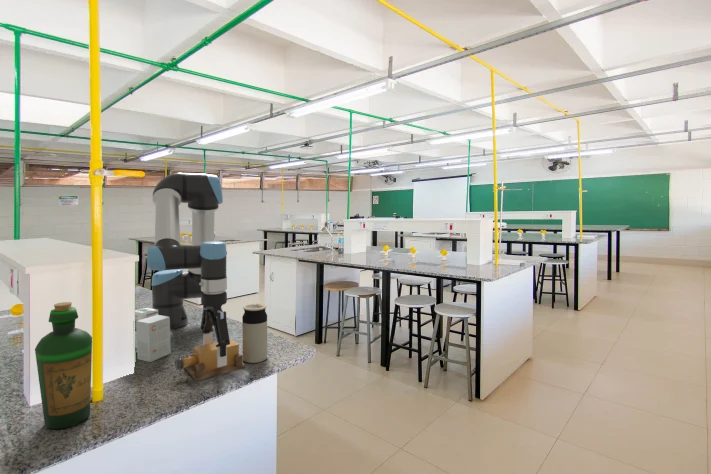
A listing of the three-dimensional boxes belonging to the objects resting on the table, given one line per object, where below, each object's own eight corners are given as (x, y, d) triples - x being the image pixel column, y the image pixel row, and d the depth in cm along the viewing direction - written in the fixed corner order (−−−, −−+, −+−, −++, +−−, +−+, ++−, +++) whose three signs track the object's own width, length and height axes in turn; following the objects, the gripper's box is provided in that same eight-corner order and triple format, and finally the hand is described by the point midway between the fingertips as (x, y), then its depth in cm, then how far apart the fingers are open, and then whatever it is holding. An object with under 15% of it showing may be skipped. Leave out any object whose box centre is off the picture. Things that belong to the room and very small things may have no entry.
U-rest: (195, 381, 109) (195, 367, 108) (184, 367, 117) (184, 354, 117) (244, 367, 118) (244, 354, 118) (231, 356, 127) (231, 344, 127)
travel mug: (258, 365, 120) (258, 310, 119) (237, 361, 123) (237, 307, 122) (271, 356, 128) (271, 304, 126) (252, 352, 130) (252, 302, 129)
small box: (157, 350, 131) (156, 314, 130) (171, 353, 128) (170, 316, 127) (136, 359, 123) (135, 320, 122) (150, 362, 121) (149, 323, 120)
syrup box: (133, 351, 129) (131, 310, 128) (149, 346, 134) (148, 306, 133) (144, 355, 127) (142, 313, 125) (159, 349, 132) (158, 309, 131)
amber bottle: (231, 356, 124) (231, 339, 124) (238, 362, 120) (238, 344, 119) (174, 370, 113) (173, 351, 113) (179, 378, 108) (178, 358, 108)
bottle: (65, 437, 82) (59, 312, 80) (26, 430, 84) (19, 308, 82) (106, 411, 92) (102, 299, 90) (71, 405, 95) (66, 297, 92)
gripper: (189, 286, 123) (190, 349, 125) (215, 301, 104) (216, 376, 106) (212, 283, 128) (213, 345, 129) (241, 297, 109) (241, 369, 111)
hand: (214, 359), depth 118 cm, fingers open, 12 cm apart
